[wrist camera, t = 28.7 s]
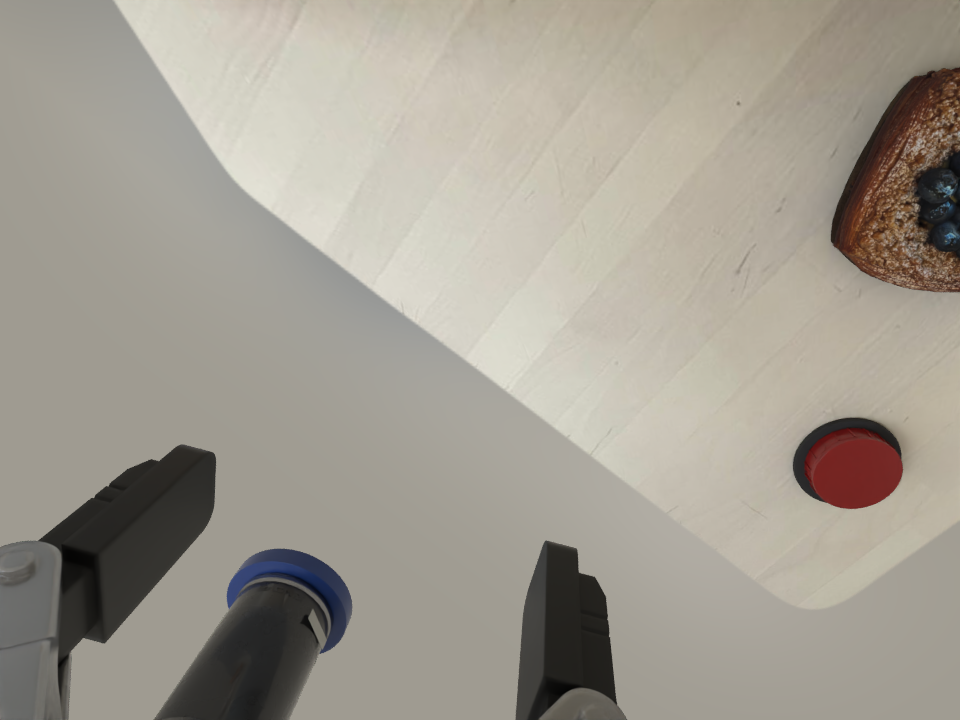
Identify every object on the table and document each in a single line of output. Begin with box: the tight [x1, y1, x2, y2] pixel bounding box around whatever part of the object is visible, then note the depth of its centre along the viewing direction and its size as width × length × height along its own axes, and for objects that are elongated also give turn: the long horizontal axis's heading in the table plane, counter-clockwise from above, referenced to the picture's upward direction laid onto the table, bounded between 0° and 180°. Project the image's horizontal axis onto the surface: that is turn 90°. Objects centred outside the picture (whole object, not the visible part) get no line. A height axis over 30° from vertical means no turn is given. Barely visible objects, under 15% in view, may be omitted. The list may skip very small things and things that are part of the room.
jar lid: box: [804, 428, 903, 509], centre depth 40 cm, size 6×6×2 cm
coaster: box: [793, 418, 901, 503], centre depth 41 cm, size 7×7×1 cm
